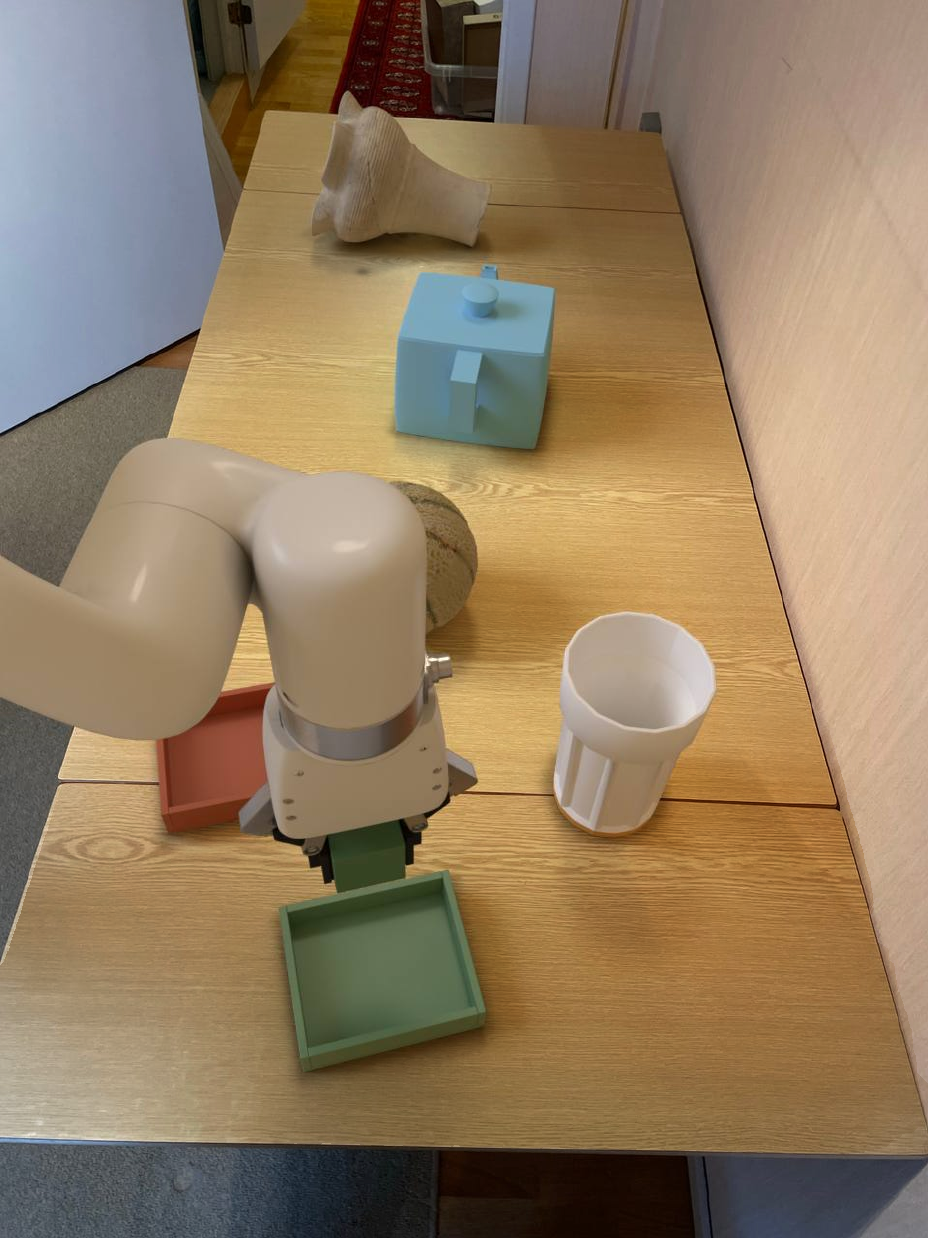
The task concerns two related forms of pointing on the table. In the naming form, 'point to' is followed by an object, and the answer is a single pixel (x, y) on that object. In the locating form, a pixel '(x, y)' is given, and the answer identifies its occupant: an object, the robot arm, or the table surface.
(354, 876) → the green block
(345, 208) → the vase
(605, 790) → the cup
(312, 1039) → the green tray
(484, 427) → the container
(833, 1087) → the table surface
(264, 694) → the terracotta tray
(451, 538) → the cantaloupe
